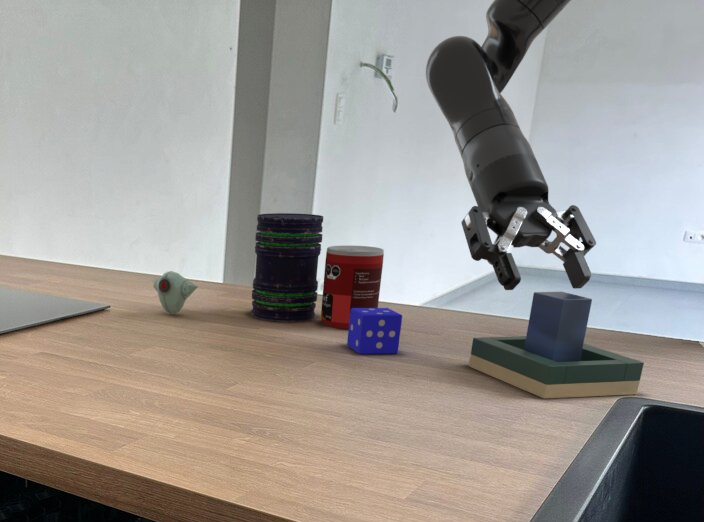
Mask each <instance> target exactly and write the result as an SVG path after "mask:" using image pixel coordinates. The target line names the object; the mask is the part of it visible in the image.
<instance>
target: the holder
mask: <svg viewBox="0 0 704 522" xmlns="http://www.w3.org/2000/svg"><path fill="white" fill-rule="evenodd" d="M525 341H526V335H515V336H514V335H513V336H486V337H485V336H484V337H483V336H482V337H473V338H472V344H471V351H470V357H469V362H468V367H469V368H471V369H474V370H477V371H479V372H481V373H483V374H486V375H488V376H491V377H493V378H495V379H497V380H499V381H502V382H504V383H506V384H508V385H511V386H514V387H516V388H517V389H520V390H522V391H525V392H527V393H530V394H532V395H535V396H537V397H539V398H541V399H544V400H545V399H564V398H565V399H566V398H584V397H585V398H586V397H587V398H588V397H589V398H590V397H608V396H609V397H610V396H628V395H630V396H632V395H637V394H638V391H639V386H640V382H641V377H642V373H643V369H644V363H645V362H643V361H641V360H638V359H635V358H631V357H628V356H625V355H623V354H619V353H615V352H613V351H612V352H611V351H609V350H605V349H602V348H600V347H597V346H593V345H590V344H587V343H584V344H583V349H582V354H581V359H580V361H576V362H555V361H553V360H550V359H547V358H544V357H541V356H539V355H536V354H533V353H530V352H528V351H525V350H524V347H525Z"/></svg>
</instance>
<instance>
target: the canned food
mask: <svg viewBox="0 0 704 522" xmlns="http://www.w3.org/2000/svg"><path fill="white" fill-rule="evenodd" d="M325 252H326V253H325V260H324V261H325V263H324V274H323V284H322V285H323V286H322V287H323V288H322V298H321V311H320V319H321V324H323V325H324V326H326V327H329V328H334V329H340V330H341V329H342V330H349V320H350V310H351V308H379V300H380V291H381V284H382V275H383V268H384V267H383V266H384V256H385V250H384V249H383V248H382V247H376V246H369V245H368V246H367V245H332V246H331V245H330V246H328V247H326V251H325Z"/></svg>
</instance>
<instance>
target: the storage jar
mask: <svg viewBox="0 0 704 522" xmlns="http://www.w3.org/2000/svg"><path fill="white" fill-rule="evenodd" d="M256 218H257V219H256V221H257V225H256V231H257V232H255V239H254V240H255V247H254V253H255V255H256V260H255V272H254V273H255V275H254V278H253V279H252V290H251V299H252V302H251V305H252V310H251V317H253V318H254V319H258V320H263V321H268V322H269V321H270V322H281V323H298V322H299V323H300V322H307V321H312V320H314V319H315V317H316V312H315V309H316V308H317V307H316V306H317V304H316V303H315V302H317V301H318V294H319V293H318V292H317V291H318V287H319V282H318V280H317V276H318V268H319V257H320V255H321V252H322V244H321V243H323V236H324V235H323V234H322V233H323V228H324V227H323V223H324V216H323V215H320V214H312V213H288V212H287V213H286V212H285V213H284V212H281V213H277V212H276V213H261V214H257V217H256Z"/></svg>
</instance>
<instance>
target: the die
mask: <svg viewBox="0 0 704 522" xmlns="http://www.w3.org/2000/svg"><path fill="white" fill-rule="evenodd" d="M402 321H403V315H402V314H401V313H399V312H398V311H395V310H393V309H392V308H389V307H378V308H351V310H350V320H349V329H347V330H348V333H347V340H346V346H347V347H348V348H350V349H351V350H353V351H354V352H356V353H357V354H359V355H397V354H398V353H399V347H400V338H401V329H402Z"/></svg>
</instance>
